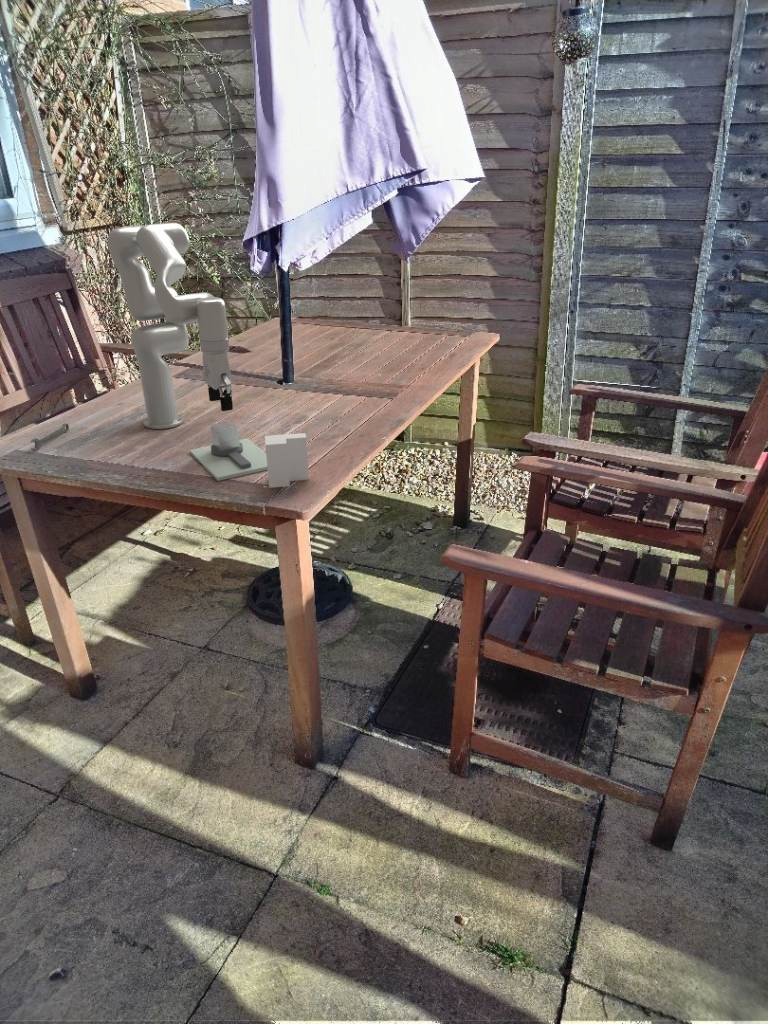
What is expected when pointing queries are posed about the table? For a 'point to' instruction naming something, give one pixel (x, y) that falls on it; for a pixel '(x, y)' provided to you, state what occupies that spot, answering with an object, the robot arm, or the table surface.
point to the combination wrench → (49, 436)
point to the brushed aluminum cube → (225, 436)
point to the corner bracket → (286, 459)
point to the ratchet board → (232, 460)
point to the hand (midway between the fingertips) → (221, 405)
